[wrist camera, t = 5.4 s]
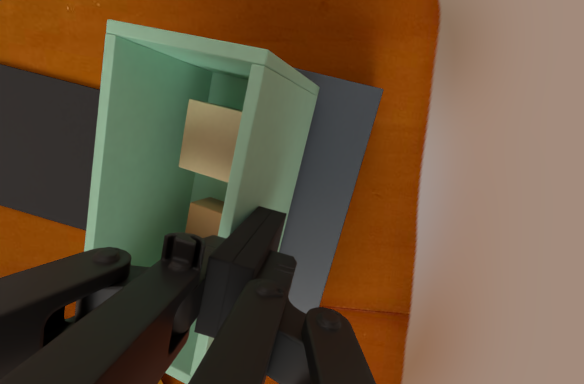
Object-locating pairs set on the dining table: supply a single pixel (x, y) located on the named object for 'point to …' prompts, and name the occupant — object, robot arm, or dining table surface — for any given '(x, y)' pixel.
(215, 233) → the brown rectangular tile
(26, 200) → the mat
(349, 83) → the block
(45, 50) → the dining table surface
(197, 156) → the beige square block
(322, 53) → the dining table surface
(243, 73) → the open box
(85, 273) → the robot arm
